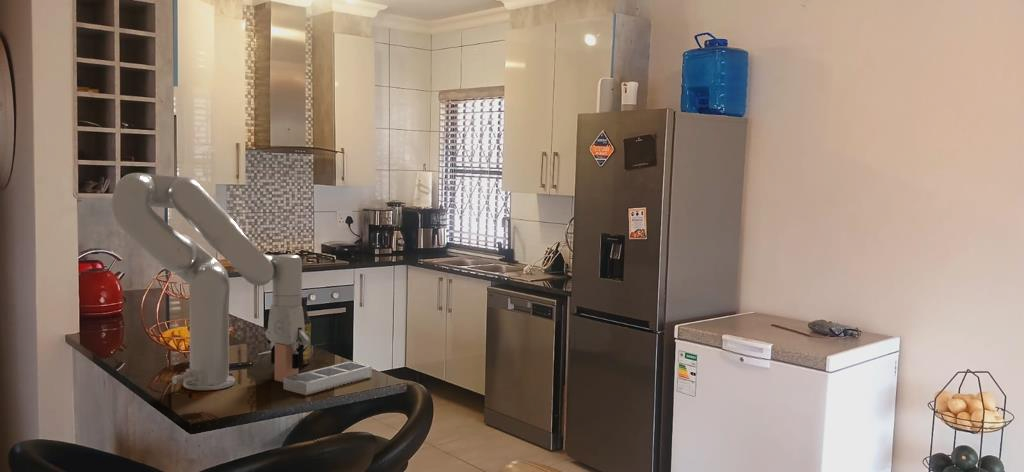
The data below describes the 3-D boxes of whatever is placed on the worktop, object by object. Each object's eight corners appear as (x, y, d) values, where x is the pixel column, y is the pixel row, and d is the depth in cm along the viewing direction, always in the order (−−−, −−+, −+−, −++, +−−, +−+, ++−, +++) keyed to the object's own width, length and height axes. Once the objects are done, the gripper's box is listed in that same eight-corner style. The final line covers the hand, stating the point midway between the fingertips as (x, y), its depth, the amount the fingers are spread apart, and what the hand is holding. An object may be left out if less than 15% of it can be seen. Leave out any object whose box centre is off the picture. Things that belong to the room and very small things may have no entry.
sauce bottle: (303, 367, 227) (304, 298, 226) (283, 365, 229) (284, 297, 227) (314, 362, 234) (314, 295, 232) (294, 360, 235) (295, 294, 234)
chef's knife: (249, 355, 242) (254, 356, 240) (248, 351, 242) (253, 352, 240) (303, 346, 256) (308, 347, 254) (303, 343, 256) (308, 343, 254)
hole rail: (306, 395, 200) (306, 383, 199) (283, 389, 204) (283, 377, 204) (371, 376, 219) (371, 366, 219) (349, 371, 224) (349, 361, 224)
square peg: (285, 382, 211) (285, 345, 210) (274, 380, 213) (274, 343, 212) (298, 379, 214) (298, 343, 213) (287, 376, 217) (287, 340, 216)
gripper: (254, 298, 214) (254, 362, 215) (298, 306, 204) (298, 373, 205) (276, 295, 220) (276, 357, 221) (320, 302, 210) (320, 367, 212)
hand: (286, 364), depth 213 cm, fingers open, 7 cm apart
